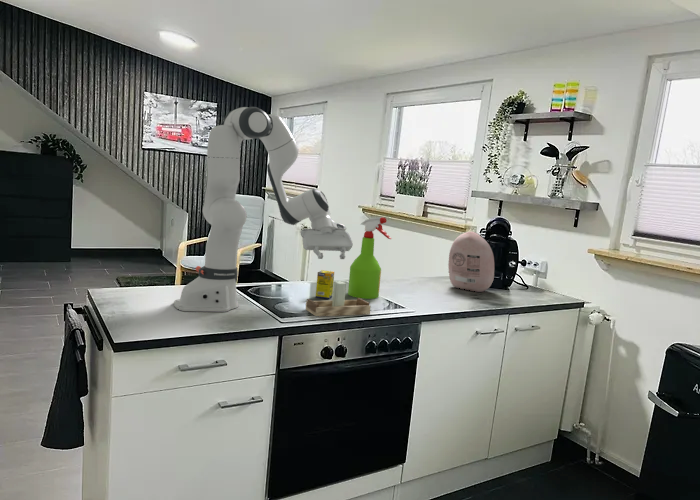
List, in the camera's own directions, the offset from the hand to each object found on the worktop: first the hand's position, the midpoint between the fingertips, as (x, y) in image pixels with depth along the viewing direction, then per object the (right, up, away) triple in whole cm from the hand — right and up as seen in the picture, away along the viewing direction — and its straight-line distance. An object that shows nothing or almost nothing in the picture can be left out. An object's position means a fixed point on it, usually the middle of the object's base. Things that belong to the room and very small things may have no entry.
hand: (332, 258), depth 200 cm
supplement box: (-4, -17, +18) cm, 25 cm away
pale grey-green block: (+2, -19, -5) cm, 20 cm away
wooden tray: (+2, -20, -5) cm, 21 cm away
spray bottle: (+14, -17, +28) cm, 36 cm away
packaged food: (+67, -17, +63) cm, 94 cm away
